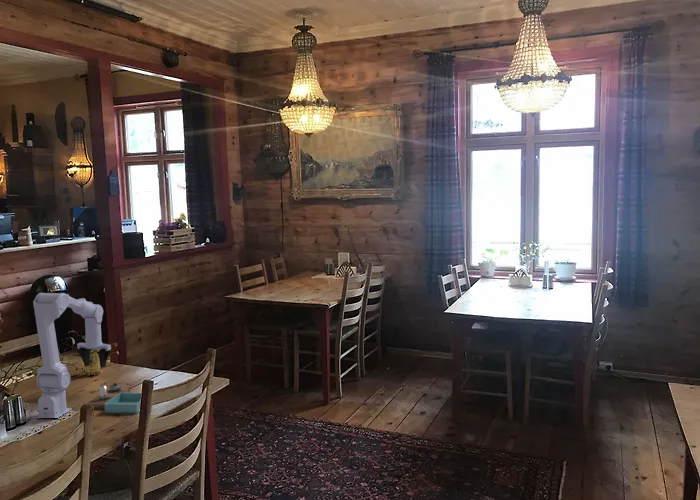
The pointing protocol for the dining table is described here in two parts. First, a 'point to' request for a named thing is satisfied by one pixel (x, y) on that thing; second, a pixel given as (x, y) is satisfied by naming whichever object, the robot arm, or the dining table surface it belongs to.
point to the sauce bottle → (93, 364)
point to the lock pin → (103, 393)
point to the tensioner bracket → (108, 396)
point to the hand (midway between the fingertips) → (95, 366)
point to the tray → (124, 404)
